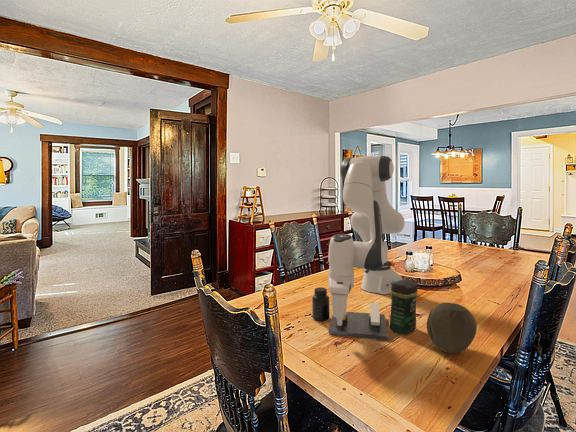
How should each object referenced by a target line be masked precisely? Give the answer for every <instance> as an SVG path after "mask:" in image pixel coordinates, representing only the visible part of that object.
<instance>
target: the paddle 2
mask: <svg viewBox="0 0 576 432" xmlns="http://www.w3.org/2000/svg"><path fill="white" fill-rule="evenodd" d="M370 313H371V314H369V317H371V325H378V326H380V318H381V315H379V314H380V303H379V302H370Z"/></svg>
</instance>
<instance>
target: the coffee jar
mask: <svg viewBox="0 0 576 432" xmlns="http://www.w3.org/2000/svg"><path fill="white" fill-rule="evenodd" d="M390 294H391V295H390V296H391V304H390V318H389V329H390V330H391V331H392V332H394V333H395V334H397V335H404V336H406V335H407V336H408V335H410V334H412V333H414V332H415V331H416V329H417V297H418V283H417V281H415V280H414V279H409V278H406V277H405V278H402V280H399V281H396V282H394V283H392V285H391V293H390Z"/></svg>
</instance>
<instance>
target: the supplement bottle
mask: <svg viewBox="0 0 576 432" xmlns="http://www.w3.org/2000/svg"><path fill="white" fill-rule="evenodd" d="M313 292H314V295H313V296H312V298H311V305H312V306H311V310H312V311H311V312H312V313H311V314H312V319H313V321H315V322H321V323H322V322H327V321H329V320H330V317H331V315H330V313H331V312H330V310H331V309H330V296H329V295H328V291H327V288H326V287H316V288H314V291H313Z"/></svg>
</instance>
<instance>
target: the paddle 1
mask: <svg viewBox="0 0 576 432" xmlns="http://www.w3.org/2000/svg"><path fill="white" fill-rule="evenodd" d="M347 307H348V302H347V303H346V310H345V316H344V318H343V319H342V320H345V318H346V315H348V313H346V312H347Z"/></svg>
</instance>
